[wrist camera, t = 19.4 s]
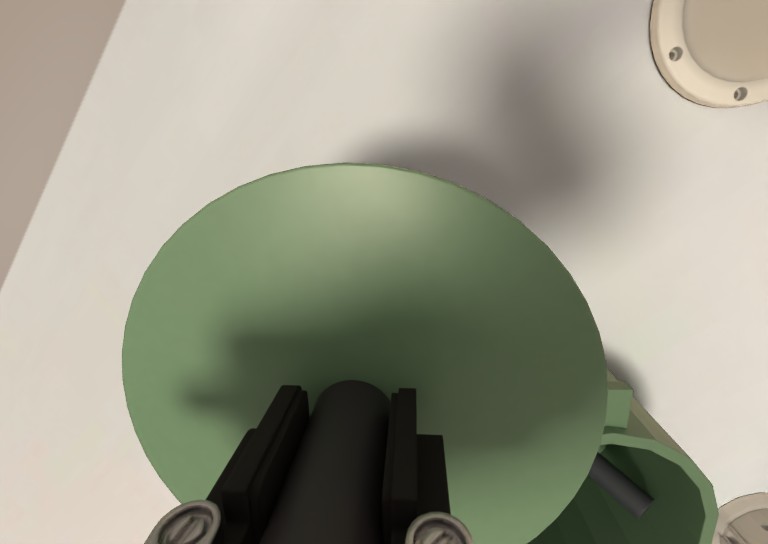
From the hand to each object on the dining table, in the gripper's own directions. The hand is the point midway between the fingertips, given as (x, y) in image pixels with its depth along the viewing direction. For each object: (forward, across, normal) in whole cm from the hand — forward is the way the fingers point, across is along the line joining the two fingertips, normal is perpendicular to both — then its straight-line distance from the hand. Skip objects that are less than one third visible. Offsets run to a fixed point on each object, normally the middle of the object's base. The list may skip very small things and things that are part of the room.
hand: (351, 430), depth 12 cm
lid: (+1, 0, 0) cm, 1 cm away
